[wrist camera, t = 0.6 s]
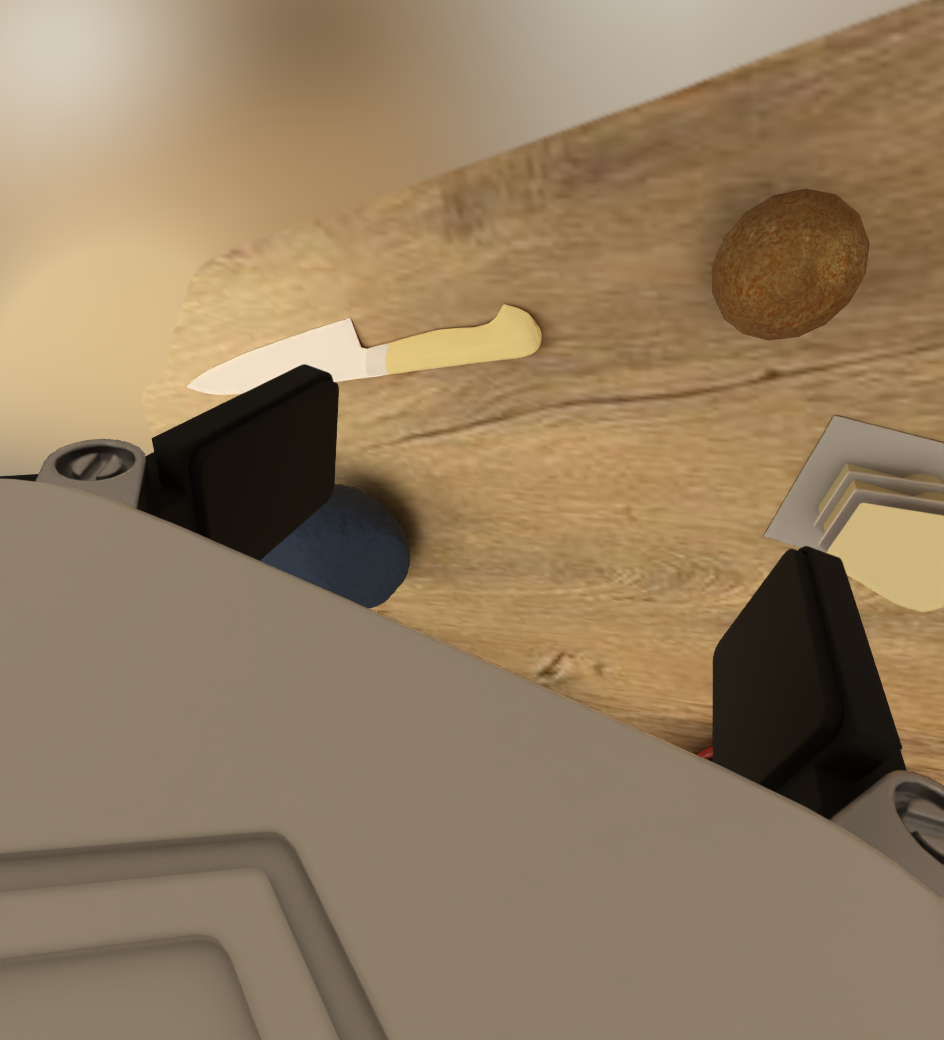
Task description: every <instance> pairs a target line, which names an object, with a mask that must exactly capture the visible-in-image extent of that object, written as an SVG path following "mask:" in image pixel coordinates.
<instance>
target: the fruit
mask: <svg viewBox="0 0 944 1040" xmlns="http://www.w3.org/2000/svg"><path fill="white" fill-rule="evenodd" d="M868 251H869V240H868V237H867V235H866V232H865V229H864V226H863V223H862V221H861V218H860V216H859V214H858V213H857V212H856V211H855V210H854V209H853V208H851V207H850V206H849V205H848V204H847V203H845V202H844V201H843V200H842V199H841V198H839V197H838V196H837V195H835V194H830V193H825V192H820V191H815V190H810V189H802V190H798V191H793V192H788V193H784V194H779V195H774V196H772V197H771V198H769V199H767V200H766V201H764V202H762V203H761V204H759V205H758V206H756V207H754V208H753V209H751V210H749V211H748V212H746V213H745V214H744V215H743V216H742V217H741V218H740V219H739V221H738V222H737V223H736V224H735V225H734V226H733V228H732V229H731V230H730V231H729V232H728V234H727V235H726V236H725V237H724V238H723V240H722V243H721V246H720V248H719V251H718V253H717V256H716V258H715V261H714V263H713V266H712V294H713V296H714V298H715V300H716V302H717V305H718V307H719V309H720V311H721V313H722V315H723V318H724V319H725V320H726V321H728V322H729V323H730V324H731V325H733V326H734V327H735V328H736V329H738V330H739V331H740V332H741V333H742V334H745V335H749V336H753V337H757V338H761V339H765V340H776V339H785V338H793V337H799V336H801V335H803V334H806V333H808V332H810V331H812V330H814V329H816V328H818V327H821V326H823V325H825V324H826V323H827V322H828V321H829V320H831V319H832V318H833V317H834V316H835V315H836V314H837V313H838V312H839V311H840V310H842V309H843V308H844V307H845V306H846V305H847V304H848V303H849V302H850V300H851V299H852V297H853V295H854V293H855V291H856V290H857V288H858V286H859V284H860V282H861V281H862V279H863V277H864V275H865V274H866V267H867V259H868Z"/></svg>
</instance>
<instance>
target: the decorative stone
mask: <svg viewBox="0 0 944 1040" xmlns="http://www.w3.org/2000/svg"><path fill="white" fill-rule="evenodd" d="M260 561H261V562H263V563H265V564H268V565H270V566H272V567H275V568H277V569H279V570H281V571H284V572H286V573H288V574H291V575H293V576H295V577H297V578H300V579H302V580H304V581H307V582H309V583H311V584H314V585H316V586H318V587H320V588H323V589H325V590H327V591H330V592H332V593H334V594H337V595H339V596H341V597H343V598H346V599H348V600H350V601H353V602H355V603H357V604H359V605H362V606H364V607H366V608H373V607H376V606H378V605H380V604H382V603H384V602H385V601H386V600H388V599H389V598H390V596H391V595H392V594H393V593H394V592H395V591H396V589H397V588H398V587H399V586H400V585H401V584H402V583H403V581H404V580H405V578H406V576H407V573H408V569H409V566H410V553H409V545H408V540H407V535H406V534H405V533H404V531H403V530H402V529H401V528H400V525H399V522H398V521H397V519H395V518H394V517H393V515H392V514H391V512H390V511H389V510H388V509H387V508H386V507H385V506H384V505H383V504H382V503H380V502H379V501H378V500H376V499H375V498H373V497H372V496H370V495H369V494H367V493H365V492H363V491H361V490H359V489H356V488H354V487H349V486H344V485H336V484H334V490H333V493H332V495H331V497H330V499H329V500H328V501H327V502H326V503H325V504H324V505H323V506H322V507H321V508H320V509H319V510H317V511H316V512H315V513H314V514H313V515H312V516H311V517H309V518H308V519H307V520H306V521H305V522H304V523H303V524H301V525H300V526H299V527H298V528H297V529H296V530H295V531H293V532H292V533H291V534H290V535H289V536H288V537H287V538H285V539H284V540H283V541H282V542H281V543H280V544H279V545H278V546H276V547H275V548H274V549H273V550H272V551H271V552H270V553H268V554H267V555H266V556H265V557H264V558H263V559H262V560H260Z"/></svg>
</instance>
